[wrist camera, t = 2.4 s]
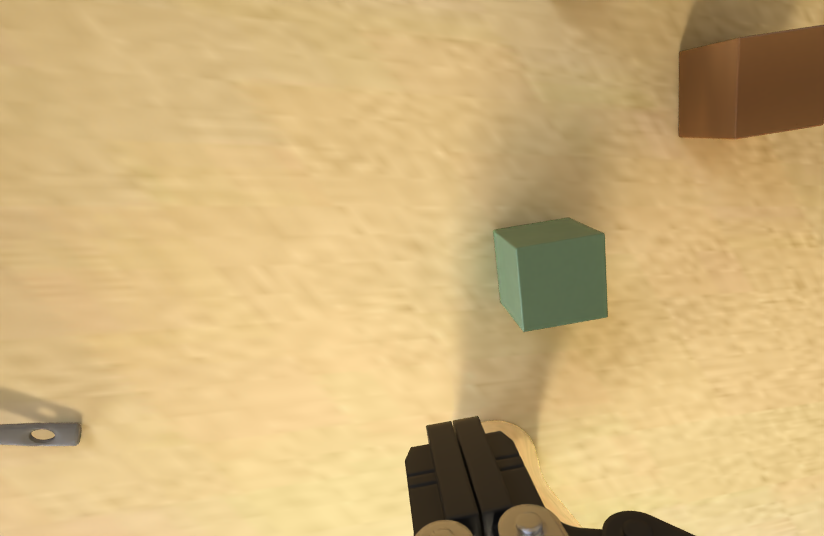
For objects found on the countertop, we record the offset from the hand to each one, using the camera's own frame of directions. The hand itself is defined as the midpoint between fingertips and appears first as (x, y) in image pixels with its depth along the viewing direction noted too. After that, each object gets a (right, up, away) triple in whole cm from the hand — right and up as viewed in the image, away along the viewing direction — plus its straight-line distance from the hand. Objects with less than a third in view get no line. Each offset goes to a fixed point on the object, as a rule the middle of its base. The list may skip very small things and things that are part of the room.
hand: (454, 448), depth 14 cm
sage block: (+6, +5, +15) cm, 17 cm away
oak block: (+16, +15, +14) cm, 25 cm away
